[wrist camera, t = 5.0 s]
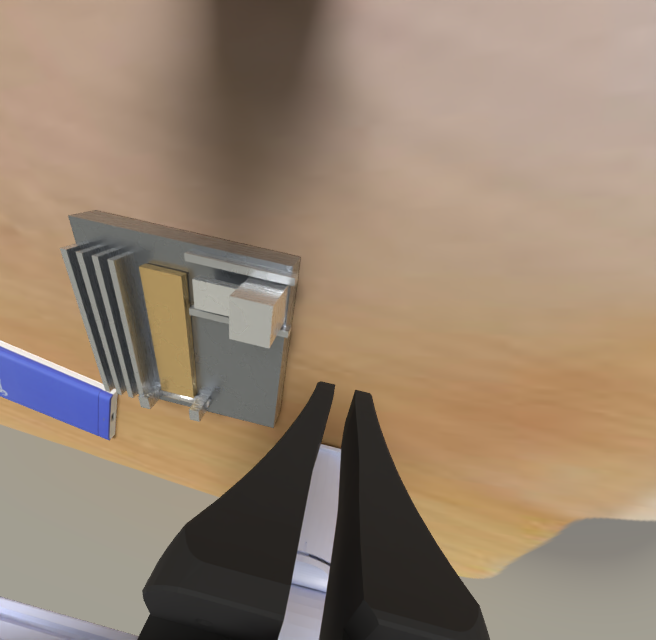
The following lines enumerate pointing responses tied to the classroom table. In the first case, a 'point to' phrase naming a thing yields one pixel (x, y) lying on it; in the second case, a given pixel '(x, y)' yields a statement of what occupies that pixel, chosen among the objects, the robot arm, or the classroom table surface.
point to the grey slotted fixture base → (207, 328)
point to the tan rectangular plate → (170, 328)
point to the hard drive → (57, 391)
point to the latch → (245, 307)
